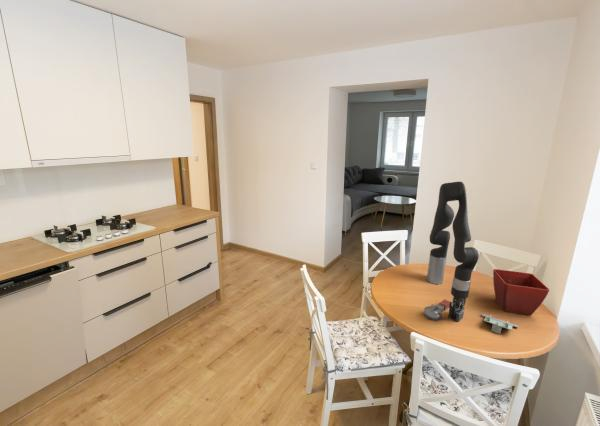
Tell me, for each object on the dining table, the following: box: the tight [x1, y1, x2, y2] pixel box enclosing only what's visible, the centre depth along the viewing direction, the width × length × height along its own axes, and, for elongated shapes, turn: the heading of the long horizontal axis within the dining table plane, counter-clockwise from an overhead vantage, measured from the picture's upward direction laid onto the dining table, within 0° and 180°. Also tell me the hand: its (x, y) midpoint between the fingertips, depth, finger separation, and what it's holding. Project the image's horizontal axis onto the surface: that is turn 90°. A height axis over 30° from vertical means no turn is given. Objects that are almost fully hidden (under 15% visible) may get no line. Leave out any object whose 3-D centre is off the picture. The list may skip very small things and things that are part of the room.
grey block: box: [447, 306, 465, 323], centre depth 148 cm, size 5×5×6 cm
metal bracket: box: [480, 313, 519, 335], centre depth 143 cm, size 14×6×15 cm
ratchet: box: [423, 299, 451, 322], centre depth 153 cm, size 20×8×6 cm, turn 129°
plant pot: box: [492, 268, 550, 316], centre depth 157 cm, size 19×19×17 cm
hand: (455, 316), depth 149 cm, fingers closed on grey block, 5 cm apart
